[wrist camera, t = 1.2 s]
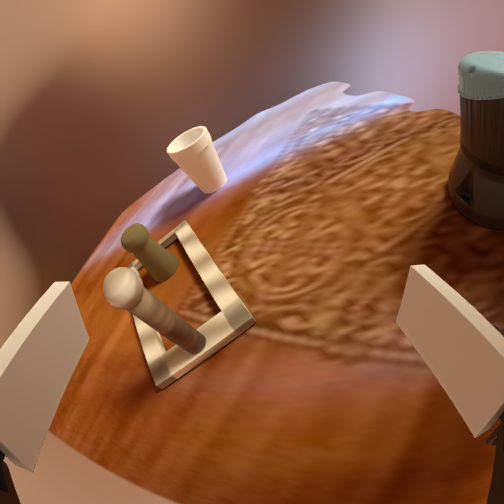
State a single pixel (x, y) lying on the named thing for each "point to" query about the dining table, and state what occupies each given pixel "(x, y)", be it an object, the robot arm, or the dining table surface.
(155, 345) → the joystick on frame
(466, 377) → the robot arm
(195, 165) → the foam cup
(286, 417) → the dining table surface
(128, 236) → the cork
